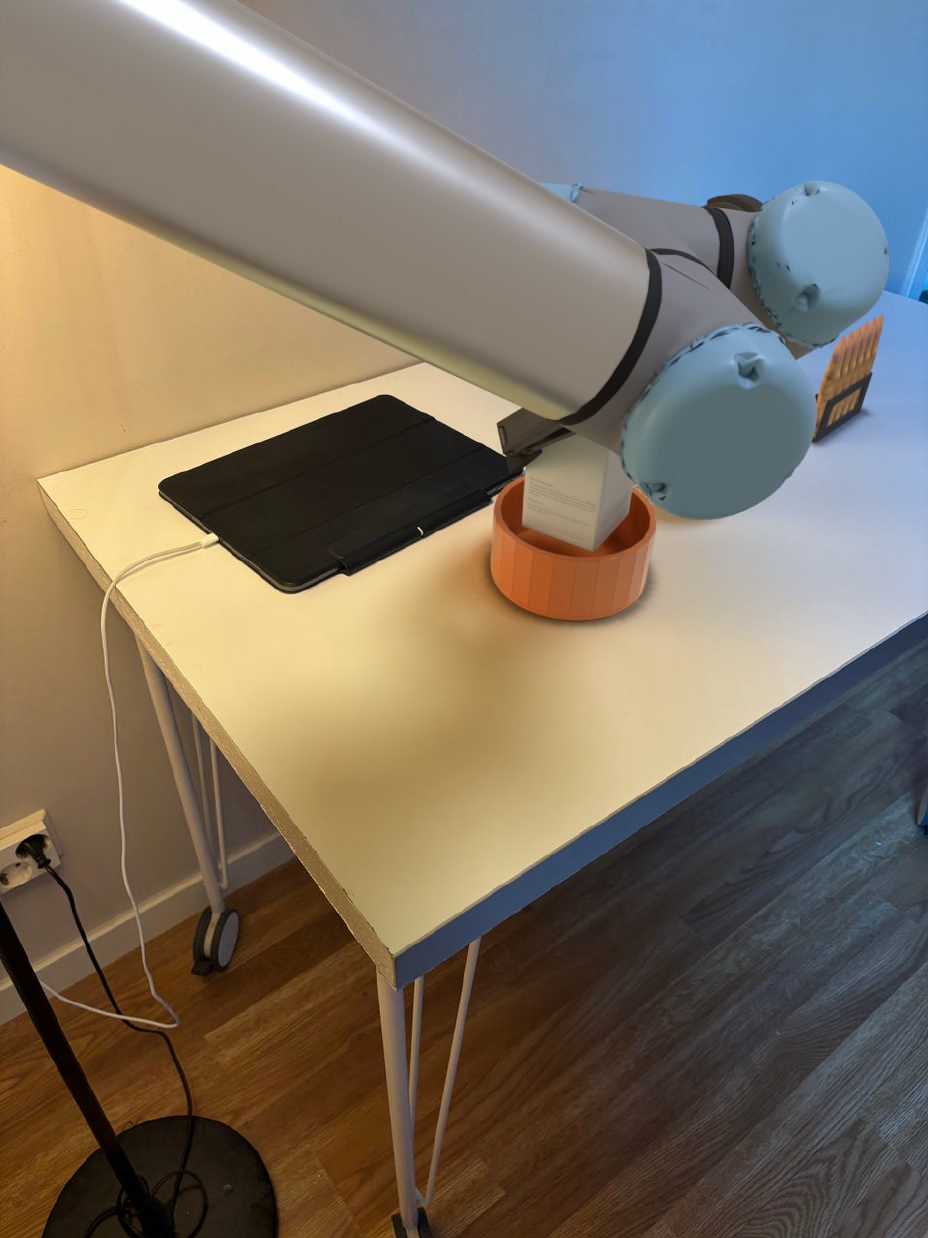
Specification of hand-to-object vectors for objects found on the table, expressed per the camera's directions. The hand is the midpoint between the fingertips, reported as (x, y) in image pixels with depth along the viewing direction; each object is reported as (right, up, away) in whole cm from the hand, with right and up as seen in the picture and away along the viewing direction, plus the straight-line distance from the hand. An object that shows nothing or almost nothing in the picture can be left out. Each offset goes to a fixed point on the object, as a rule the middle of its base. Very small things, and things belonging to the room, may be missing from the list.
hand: (567, 449), depth 83 cm
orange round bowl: (+1, -10, +5) cm, 12 cm away
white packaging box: (+1, -6, +2) cm, 6 cm away
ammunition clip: (+34, +8, +28) cm, 45 cm away
